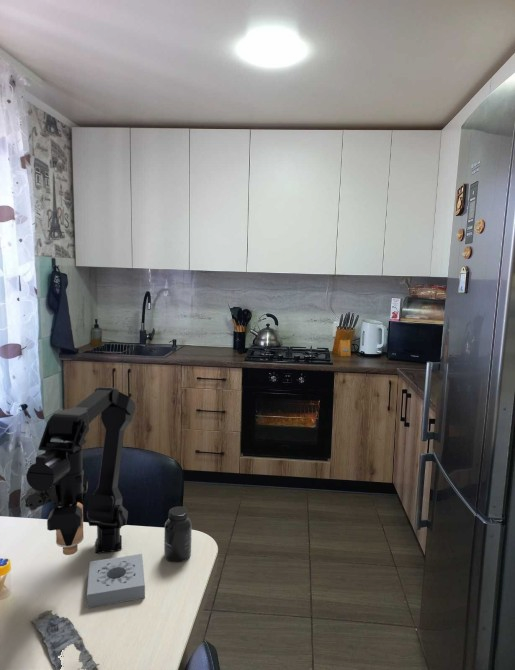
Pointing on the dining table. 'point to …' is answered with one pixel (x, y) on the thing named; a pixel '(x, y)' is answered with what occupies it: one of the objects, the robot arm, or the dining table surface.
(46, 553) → the dining table surface
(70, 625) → the driftwood
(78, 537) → the peg
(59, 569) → the dining table surface
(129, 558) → the board
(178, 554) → the supplement bottle
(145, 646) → the dining table surface
